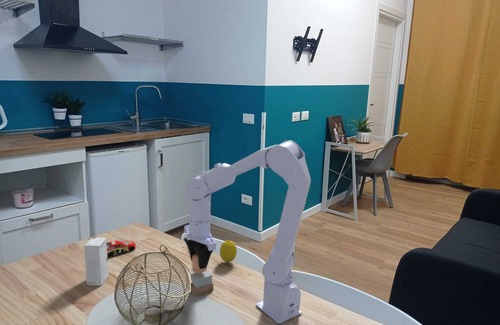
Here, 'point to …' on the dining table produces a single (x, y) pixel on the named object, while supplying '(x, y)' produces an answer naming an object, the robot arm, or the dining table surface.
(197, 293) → the walnut slab
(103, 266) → the skincare box
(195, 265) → the copper rounded cylinder
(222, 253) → the lemon
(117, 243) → the race car
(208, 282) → the grey slab
